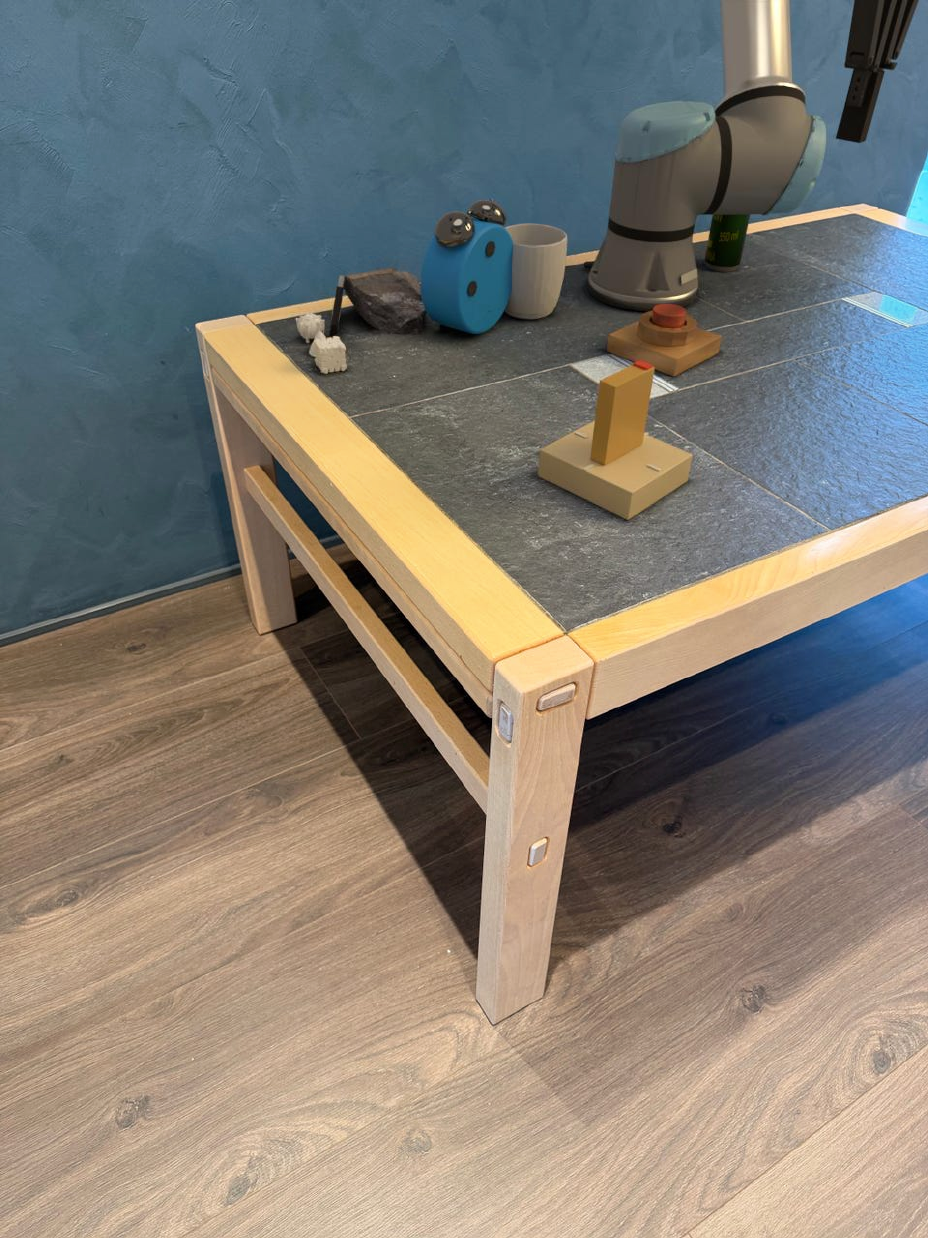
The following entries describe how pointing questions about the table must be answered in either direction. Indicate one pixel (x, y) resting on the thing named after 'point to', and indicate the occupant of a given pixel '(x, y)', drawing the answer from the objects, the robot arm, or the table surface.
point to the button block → (664, 344)
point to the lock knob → (621, 412)
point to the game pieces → (322, 344)
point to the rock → (388, 300)
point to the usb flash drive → (337, 308)
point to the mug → (536, 269)
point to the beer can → (726, 241)
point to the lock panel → (615, 472)
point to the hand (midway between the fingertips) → (850, 139)
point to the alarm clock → (468, 269)
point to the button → (668, 316)
